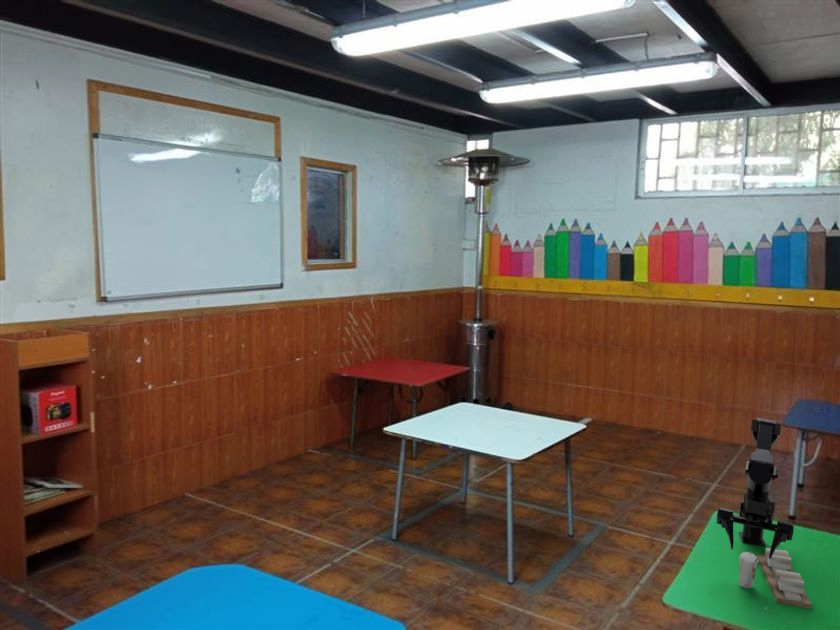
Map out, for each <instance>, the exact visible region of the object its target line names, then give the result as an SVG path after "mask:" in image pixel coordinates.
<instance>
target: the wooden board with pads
mask: <svg viewBox="0 0 840 630" xmlns="http://www.w3.org/2000/svg"><path fill="white" fill-rule="evenodd" d="M770 549H771V547H766V548H765V551H764V554H761V553H760V554H759V553H757V554H756V556H757V557H759V558H758V560H759V561H758V564H759V566H760V568H761V571H762V573H763V575H764V577H765V580H766V582H767V584H768V586H769V589H770V591H771V594H772V595H773V598H774V600H775V603H777V604H781V605H788V606H792V607H793V606H794V607H798V608H805V609H812V603H811V601H810V599H809V597H808V595H807V593H806V590H805V582H804V580H803V577H802V576H801V574H800V573H798V572H795V571H794V570H795V569H794V568H793V565H792V563H793V562H792V557H791V556H790V553H789V552H788V550H784V549H783V550H782V549H777V548H776V550H775V552H774V554H773V555H772V557H771V559H769V554H770Z"/></svg>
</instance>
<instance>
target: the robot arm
mask: <svg viewBox="0 0 840 630" xmlns="http://www.w3.org/2000/svg"><path fill="white" fill-rule="evenodd" d="M781 430H782V424H781V423H779V422H778V420H775V419H773V420H772V419H768V418H761V417H756V419H751V426H750V432H752V436H751V437H752V440H753V442H754V444H755V451H753V452H751V453H750V456H749V460H746V465H745V471H744V474H745V475H747V485H746V486H747V487H746V493H745V494H744V498H743V500H740V501H741V502H740V509H739V515H737V514H736V515H735V514H734V509H729V508H724V507H719V508H718V509H717V514H716V524H718V525H720V526H721V529H725V531H726V532H725V533H726V534H727V536H728V537H727V538H728V541H729V545H730V546H729V547H730V549H731V550H733V549H734V523H736V524H739V525H742V531H739V532H738V534H739V537H740V539H741V542H743V543H746V544H752V545H753V544H754V545H759V546H766V545H767V544H766V541H765V539H764V533H765V532H764V531H765V530H766V531H769V532H774V535H773V539H772V542H771V545H770V554H769V559H771V557H772V555H773V554H774V552H775V550H776V549H777V548H778V547H779V546H780V544H781V543H786V542H787V541H792V540H793V535H794V530H795V528H794V524H793V523H791V522H788V521H782V520H777V522H776V523H773V520H774V514H775V508H776V507H775V505H776V502H774V501H771V500H770V492H771V491H770V490H771V486H772V480H773V481H776V479H779V477H778V476H779V470H778V467H777V465H775V457H774V456H773V455H772V454H771V449H772V447H774V446H775V444H776V443H777V442H778V437H781Z"/></svg>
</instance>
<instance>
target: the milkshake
mask: <svg viewBox="0 0 840 630" xmlns="http://www.w3.org/2000/svg"><path fill="white" fill-rule="evenodd" d="M758 558H759V557H757V554H756V555H755V554H754V553H752V552H749V551H743V552H741V553H740V555H739V576H738V577H739V578H738V579H739V580H738V585H739V586H740V587H742V589H743V588H744V589H748V590H750V589H752V588H753V585H754V581H755V577H756V573H757V568H758V564H759V562H758V561H759V560H758Z"/></svg>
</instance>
